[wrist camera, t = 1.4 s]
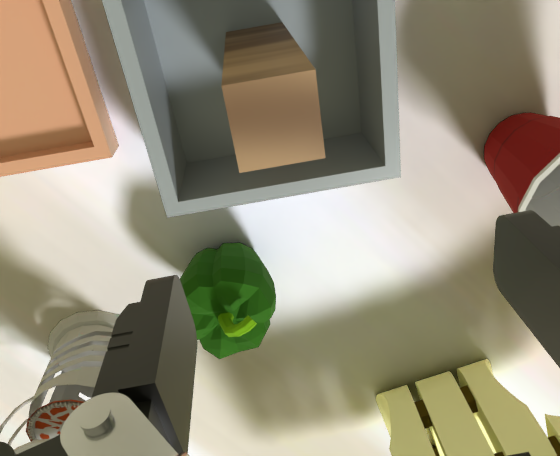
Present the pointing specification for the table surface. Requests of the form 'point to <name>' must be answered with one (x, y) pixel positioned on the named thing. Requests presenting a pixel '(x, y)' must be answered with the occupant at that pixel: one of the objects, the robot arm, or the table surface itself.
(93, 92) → the terracotta tray
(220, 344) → the bell pepper
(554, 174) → the plastic cup
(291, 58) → the walnut stick
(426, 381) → the slatted curved stool
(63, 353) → the french press
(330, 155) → the grey tub
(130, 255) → the table surface
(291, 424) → the table surface
